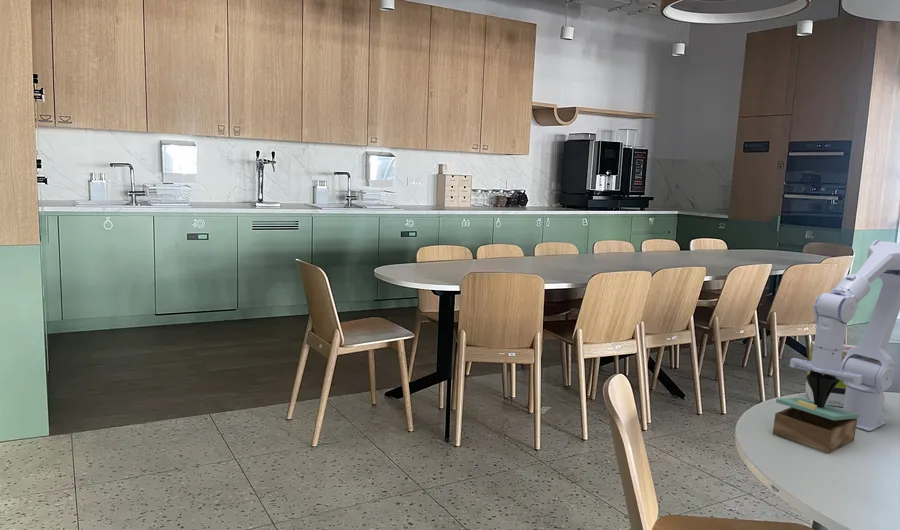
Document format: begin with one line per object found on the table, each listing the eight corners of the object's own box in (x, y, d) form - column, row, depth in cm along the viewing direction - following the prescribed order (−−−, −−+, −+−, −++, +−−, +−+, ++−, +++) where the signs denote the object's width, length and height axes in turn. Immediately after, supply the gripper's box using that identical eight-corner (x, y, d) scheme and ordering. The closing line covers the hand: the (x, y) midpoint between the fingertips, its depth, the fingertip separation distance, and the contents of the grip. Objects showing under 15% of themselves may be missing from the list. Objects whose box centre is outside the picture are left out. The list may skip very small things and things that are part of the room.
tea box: (866, 400, 180) (875, 346, 178) (875, 413, 171) (884, 356, 168) (803, 391, 185) (810, 338, 183) (808, 403, 176) (816, 348, 173)
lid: (802, 401, 161) (804, 393, 161) (859, 418, 152) (860, 410, 151) (775, 402, 153) (777, 394, 153) (833, 420, 143) (835, 412, 143)
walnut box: (799, 422, 162) (802, 402, 161) (854, 440, 152) (857, 419, 152) (772, 434, 154) (775, 413, 153) (828, 453, 144) (831, 431, 144)
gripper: (786, 341, 154) (778, 399, 156) (855, 358, 143) (846, 420, 144) (801, 338, 158) (793, 394, 160) (869, 354, 147) (859, 414, 149)
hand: (819, 406), depth 153 cm, fingers closed, pressing on lid
